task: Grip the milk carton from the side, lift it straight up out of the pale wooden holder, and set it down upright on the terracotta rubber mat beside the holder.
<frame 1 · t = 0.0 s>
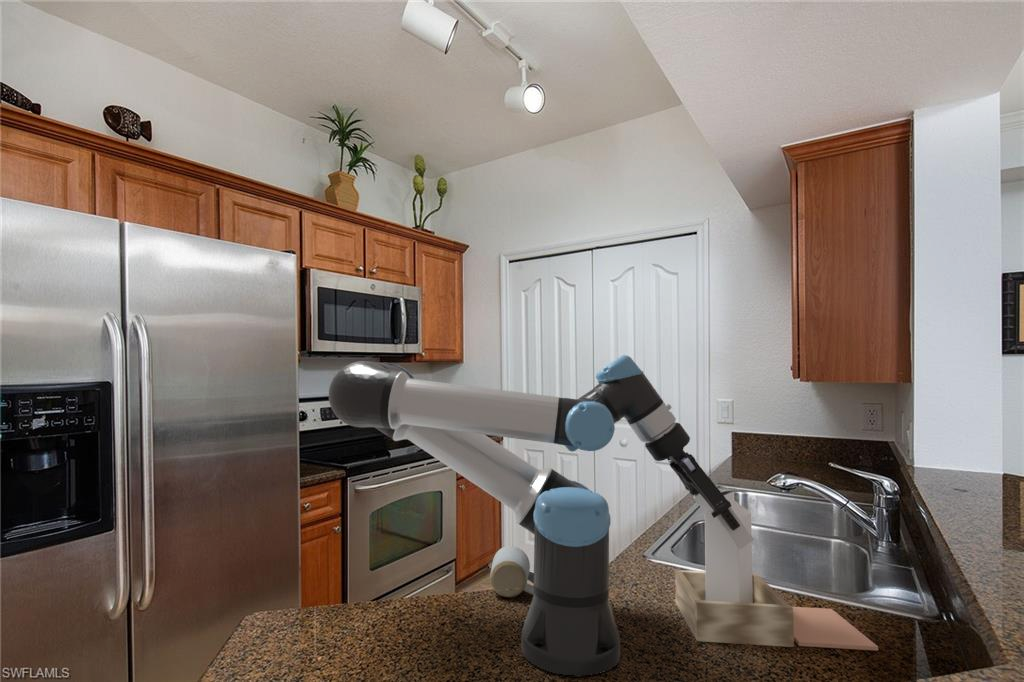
hand: (732, 532, 92), 15 cm above the countertop, tool tilted 35°, fingers open, 13 cm apart
milk: (729, 624, 91), resting in holder
mat: (816, 627, 89), on the countertop
ceramic mug: (516, 592, 103), on the countertop
holder: (729, 622, 91), on the countertop
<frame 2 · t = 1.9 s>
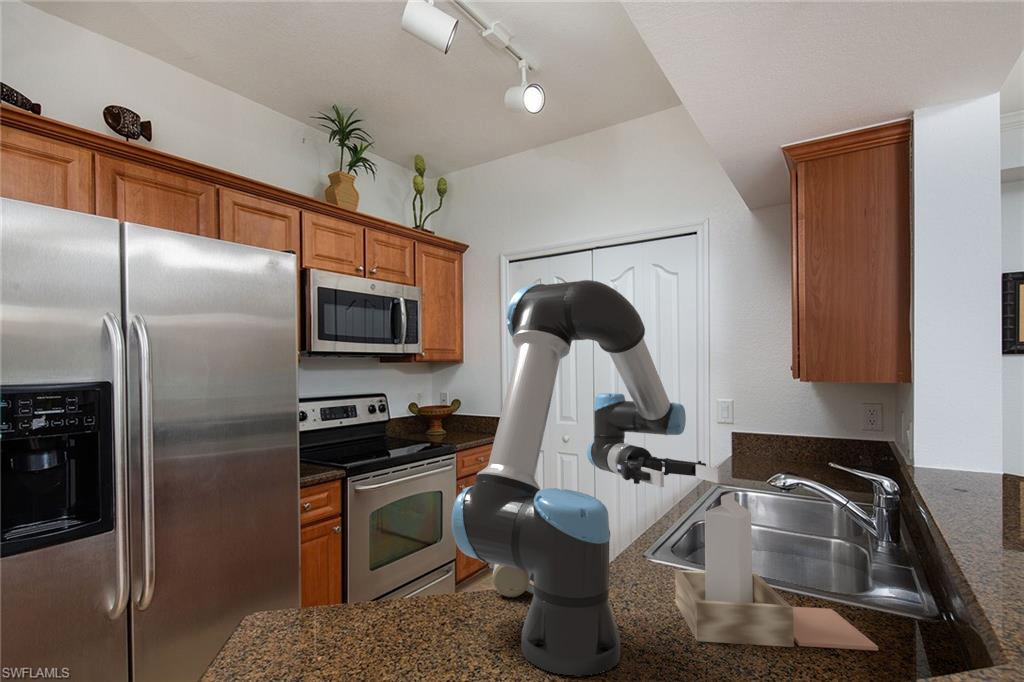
hand: (691, 478, 102), 23 cm above the countertop, tool horizontal, fingers open, 13 cm apart
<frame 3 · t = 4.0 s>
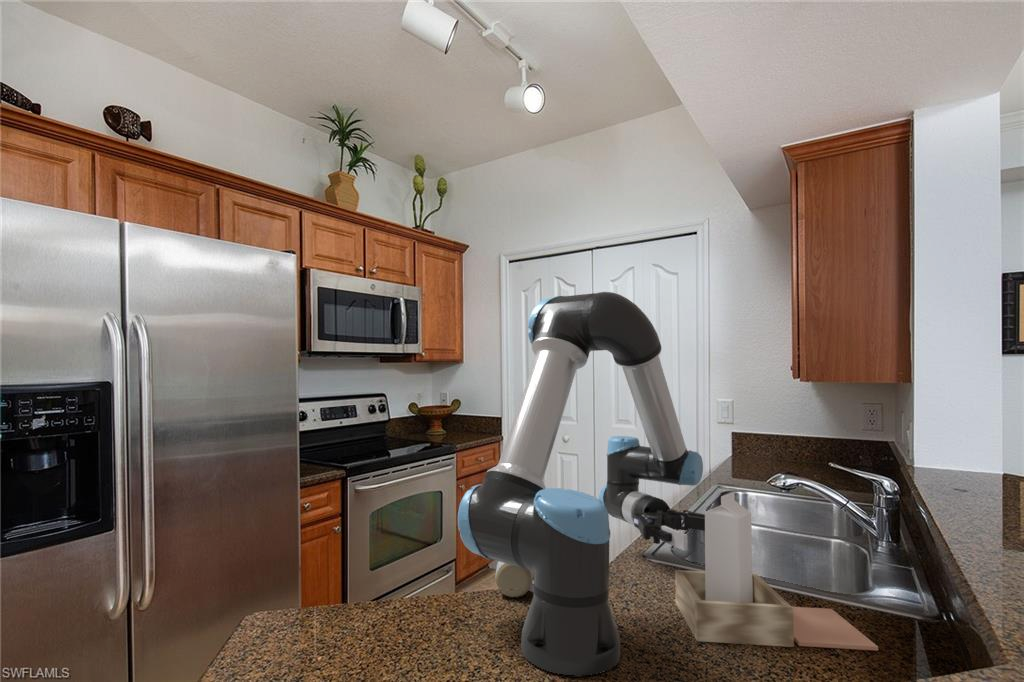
hand: (715, 539, 96), 13 cm above the countertop, tool horizontal, fingers open, 13 cm apart
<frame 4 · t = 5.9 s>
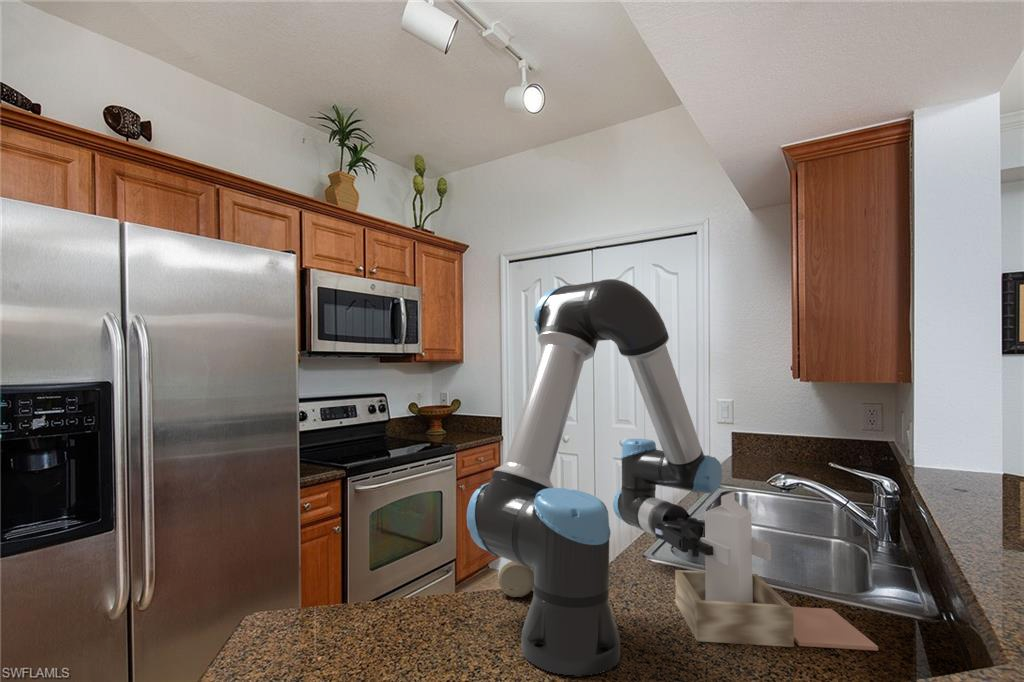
hand: (749, 554, 87), 13 cm above the countertop, tool horizontal, fingers closed on milk, 8 cm apart
milk: (729, 624, 91), resting in holder, touching gripper
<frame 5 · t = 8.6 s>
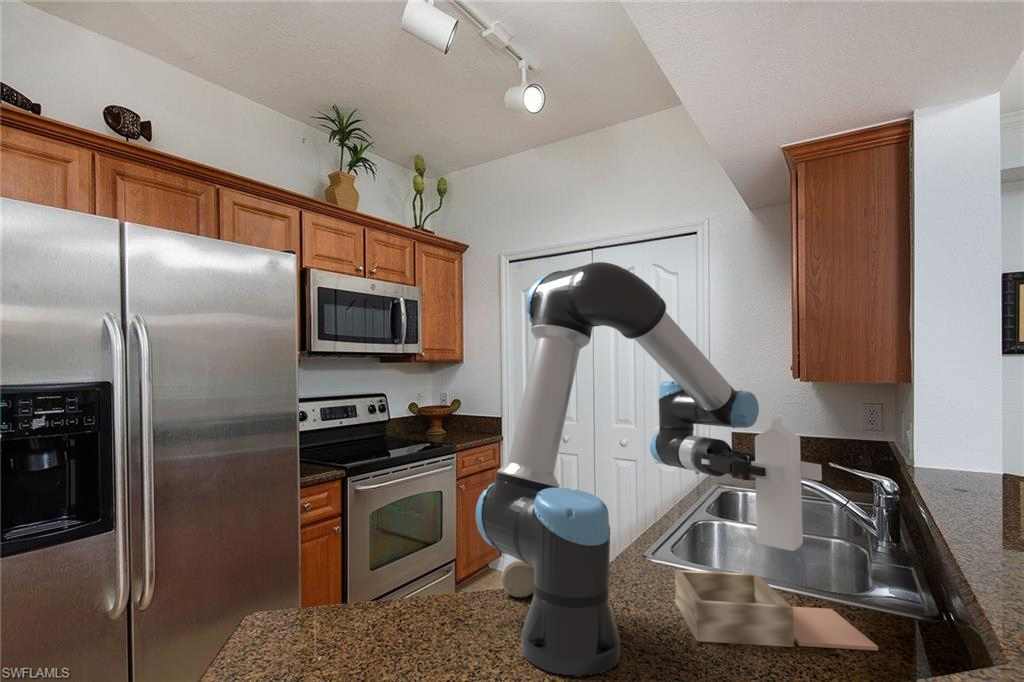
hand: (802, 473, 89), 26 cm above the countertop, tool horizontal, fingers closed on milk, 8 cm apart
milk: (779, 545, 92), point 13 cm above the countertop, touching gripper
when the fingers open (15 cm above the countertop, at t = 11.4 s): milk drops 2 cm, resting on mat.
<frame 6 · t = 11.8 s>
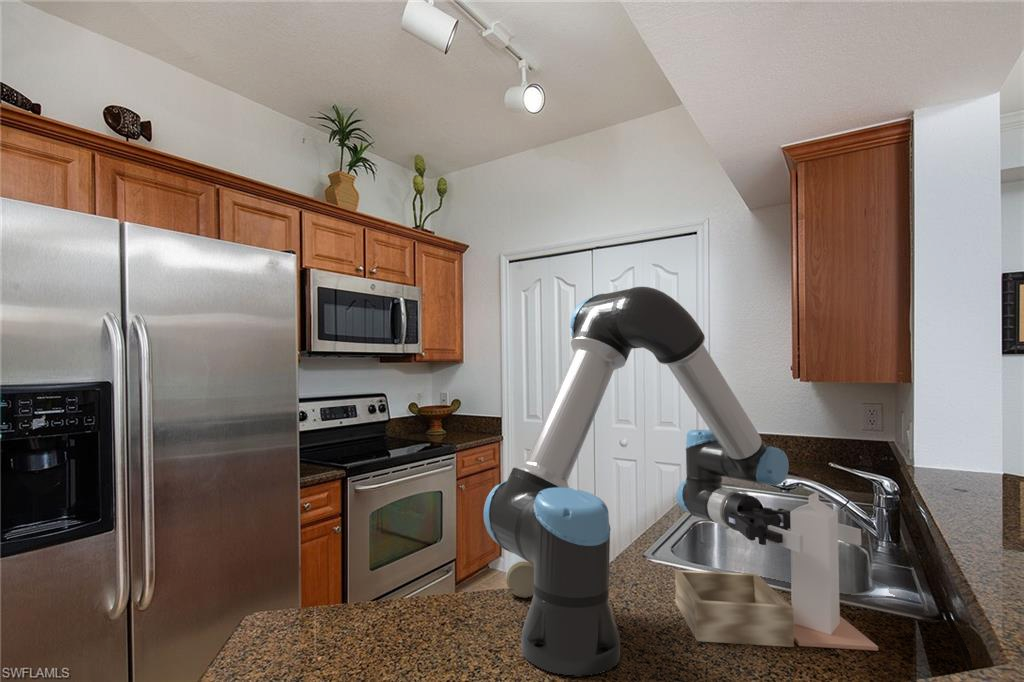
hand: (831, 540, 87), 15 cm above the countertop, tool horizontal, fingers open, 13 cm apart
milk: (815, 624, 89), resting on mat
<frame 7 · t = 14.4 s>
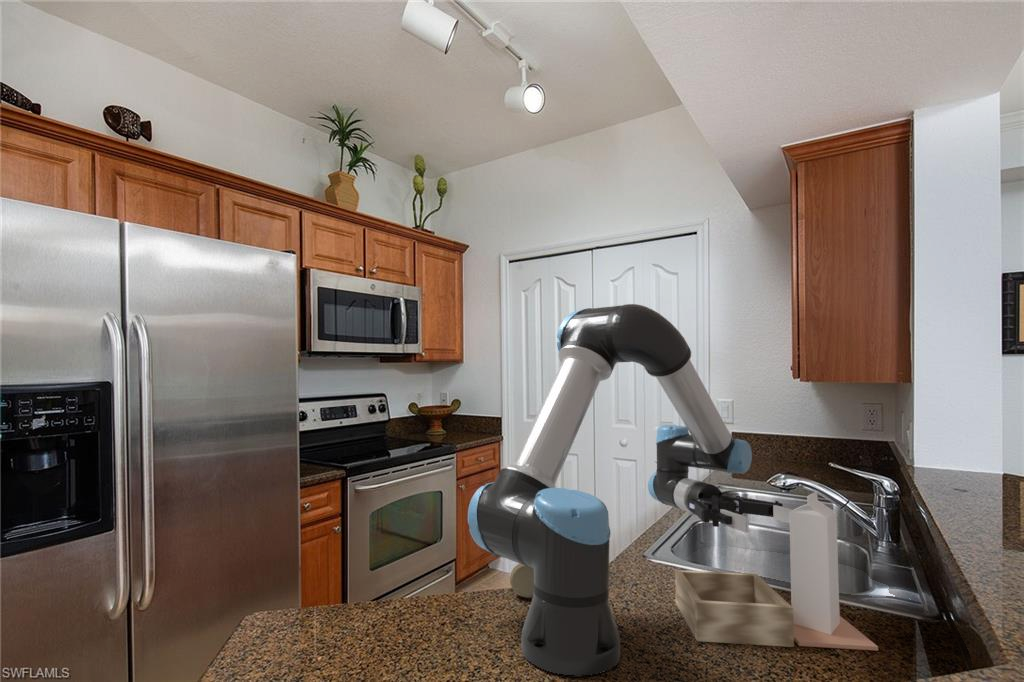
hand: (775, 522, 98), 16 cm above the countertop, tool horizontal, fingers open, 13 cm apart
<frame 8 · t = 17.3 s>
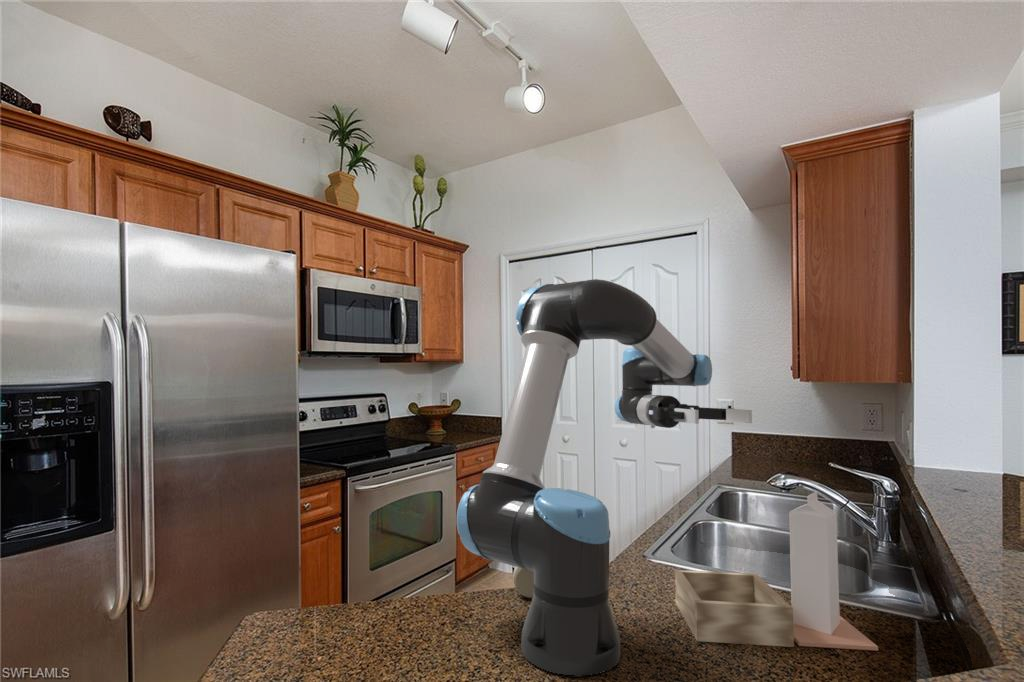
hand: (724, 416, 105), 35 cm above the countertop, tool horizontal, fingers open, 13 cm apart
at the end: milk inside the target area on the mat (0.1 cm from its centre), point 0.4 cm above the mat's base; milk tilted 0°; the gripper is holding nothing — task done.
